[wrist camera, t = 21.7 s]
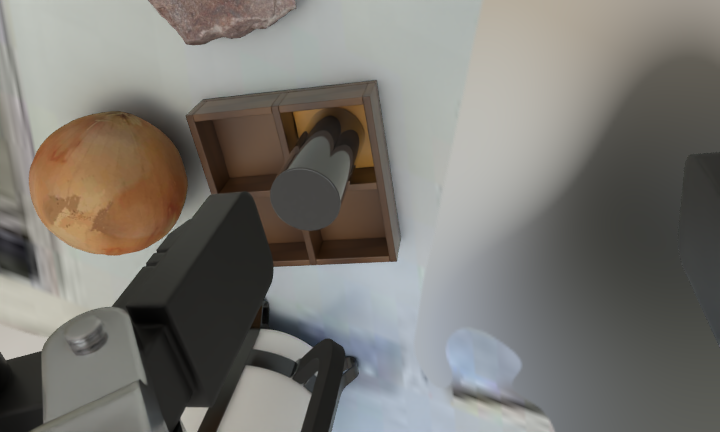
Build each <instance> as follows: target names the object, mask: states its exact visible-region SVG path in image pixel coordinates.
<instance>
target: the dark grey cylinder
mask: <svg viewBox="0 0 720 432" xmlns="http://www.w3.org/2000/svg"><path fill="white" fill-rule="evenodd" d="M364 142H365V132H364V128H363V126H362V124H361V122H360V121H359V119H358V118H357V117H356V116H355V115H354V114H352V113H351V112H349V111H347V110H345V109H342V108H338V107H334V108H325V109H322V110H320V111H318V112H317V113H315V114H314V115H313V116H312V118H311V119H310V121H309V123H308V124H307V126H306V128H305V129H304V131H303V133H302V134H301V136H300V138H299V139H298V141H297V143H296V144H295V146H294V148H293V149H292V151H291V153H290V154H289V156H288V158H287V159H286V161H285V163H284V165H283V166H282V168H281V170H280V171H279V173H278V175H277V176H276V178H275V180H274V181H273V183H272V186H271V189H270V200H271V204H272V207H273V209H274V211H275V212H276V214H277V215H278V216H279V218H280V219H282V220H283V221H284V222H285V223H286V224H288V225H290V226H292V227H294V228H297V229H300V230H306V231H314V230H319V229H322V228H325V227H327V226H329V225H330V224H331V223H332V222H333V221H334V220H335V219H336V218H337V216H338V214H339V212H340V209H341V206H342V203H343V201H344V198H345V195H346V192H347V190H348V187H349V184H350V181H351V179H352V176H353V173H354V170H355V168H356V165H357V162H358V159H359V157H360V154H361V151H362V148H363V145H364Z"/></svg>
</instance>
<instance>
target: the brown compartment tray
mask: <svg viewBox="0 0 720 432" xmlns="http://www.w3.org/2000/svg"><path fill="white" fill-rule="evenodd" d="M334 107H338V108H342V109H345V110H347V111H349V112H351V113H352V114H354V115H355V116H356V117H357V118H358V119H359V121H360V122H361V124H362V126H363V128H364V132H365V142H364V145H363V148H362V151H361V154H360V157H359V159H358V162H357V165H356V168H355V170H354V173H353V176H352V179H351V181H350V184H349V187H348V190H347V192H346V195H345V198H344V201H343V203H342V206H341V209H340V212H339V214H338V216H337V218H336V219H335V220H334V221H333V222H332V223H331V224H330V225H329V226H327V227H325V228H322V229H319V230H314V231H306V230H300V229H297V228H294V227H292V226H290V225H288V224H286V223H285V222H284V221H283V220H282V219H280V218H279V216H278V215H277V214H276V212H275V211H274V209H273V207H272V204H271V200H270V189H271V186H272V183H273V181H274V180H275V178H276V176H277V175H278V173H279V171H280V170H281V168H282V166H283V165H284V163H285V161H286V159H287V158H288V156H289V154H290V153H291V151H292V149H293V148H294V146H295V144H296V143H297V141H298V139H299V138H300V136H301V134H302V133H303V131H304V129H305V128H306V126H307V124H308V123H309V121H310V119H311V118H312V116H313V115H314V114H315V113H317V112H318V111H320V110H322V109H325V108H334ZM186 119H187V122H188V125H189V128H190V131H191V134H192V137H193V140H194V143H195V146H196V149H197V152H198V155H199V158H200V161H201V164H202V167H203V170H204V173H205V176H206V179H207V182H208V185H209V188H210V192H211V195H212V194H220V193H232V192H244V191H246V192H249V193H250V194H251V195H252V197H253V199H254V201H255V203H256V207H257V210H258V213H259V216H260V219H261V222H262V225H263V228H264V232H265V235H266V238H267V241H268V244H269V247H270V250H271V254H272V258H273V267H280V266H303V265H326V264H349V263H372V262H395V261H397V257H398V252H399V246H400V241H401V235H400V229H399V223H398V216H397V210H396V203H395V197H394V190H393V184H392V177H391V171H390V164H389V158H388V151H387V145H386V139H385V132H384V126H383V119H382V113H381V106H380V100H379V93H378V87H377V81H376V80H375V81H366V82H357V83H348V84H339V85H330V86H321V87H312V88H303V89H294V90H285V91H276V92H267V93H258V94H249V95H240V96H231V97H223V98H214V99H205V100H202V101H201V102H200V103H199V104H198V105H197V106H196V107H195V108H193V109H192V110H191V111H190V112H189V113H188V114H187V115H186Z"/></svg>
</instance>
